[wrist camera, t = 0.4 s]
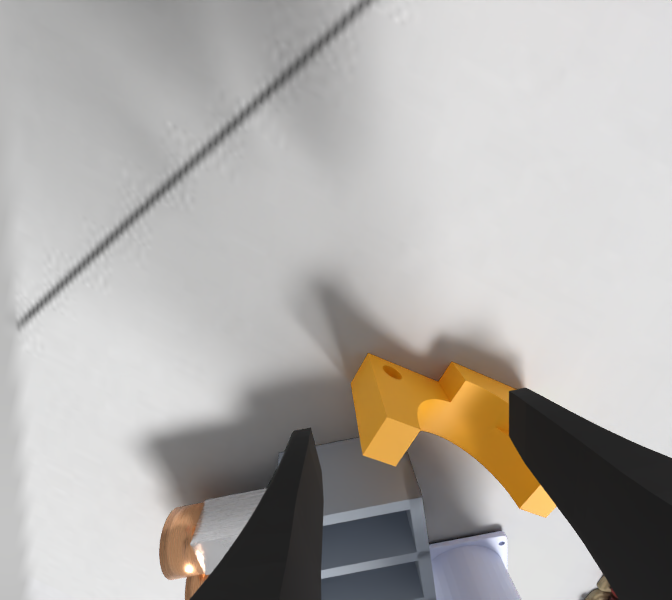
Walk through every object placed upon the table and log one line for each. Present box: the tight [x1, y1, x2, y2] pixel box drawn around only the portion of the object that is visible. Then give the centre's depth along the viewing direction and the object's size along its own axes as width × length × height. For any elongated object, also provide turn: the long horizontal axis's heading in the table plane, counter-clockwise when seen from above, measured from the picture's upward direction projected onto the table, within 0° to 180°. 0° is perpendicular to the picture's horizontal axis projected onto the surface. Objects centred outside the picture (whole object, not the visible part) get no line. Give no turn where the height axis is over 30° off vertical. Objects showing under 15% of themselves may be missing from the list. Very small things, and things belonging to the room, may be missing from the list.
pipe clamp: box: [351, 353, 556, 518], centre depth 20 cm, size 12×4×6 cm, turn 64°
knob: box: [159, 488, 267, 580], centre depth 22 cm, size 4×8×4 cm, turn 100°
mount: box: [277, 437, 436, 600], centre depth 24 cm, size 10×9×6 cm
